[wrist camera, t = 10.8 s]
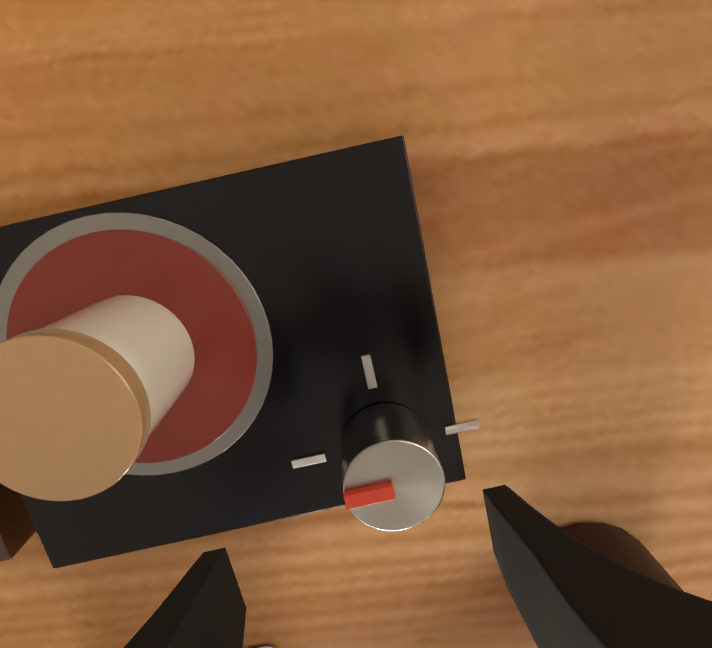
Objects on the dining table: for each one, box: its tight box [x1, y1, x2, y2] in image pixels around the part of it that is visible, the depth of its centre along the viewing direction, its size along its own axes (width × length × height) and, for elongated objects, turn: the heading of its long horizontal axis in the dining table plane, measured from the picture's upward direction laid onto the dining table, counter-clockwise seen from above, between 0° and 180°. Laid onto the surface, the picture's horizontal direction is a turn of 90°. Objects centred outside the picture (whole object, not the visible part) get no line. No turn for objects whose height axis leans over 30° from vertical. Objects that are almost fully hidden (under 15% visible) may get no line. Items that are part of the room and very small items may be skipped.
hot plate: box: [0, 136, 480, 568], centre depth 21 cm, size 19×15×3 cm
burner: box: [0, 212, 273, 476], centre depth 19 cm, size 10×10×1 cm
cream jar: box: [0, 295, 195, 501], centre depth 16 cm, size 5×5×6 cm
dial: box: [341, 403, 445, 531], centre depth 19 cm, size 4×4×4 cm
